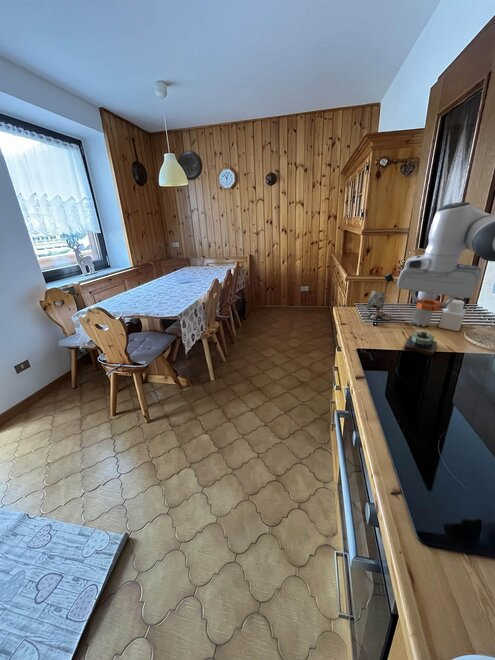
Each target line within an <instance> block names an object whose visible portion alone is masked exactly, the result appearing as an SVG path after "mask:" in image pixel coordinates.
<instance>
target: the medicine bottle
mask: <svg viewBox="0 0 495 660" xmlns="http://www.w3.org/2000/svg"><path fill="white" fill-rule="evenodd" d="M448 300H449V298H448V299H447V301H448ZM466 305H467V300H466V299H465V298H463V297H455V298H454V300H453V301H452V302H451V303H449V304H448V306H447V309H442V312H441V316H440V318H439V324H438V328H440V329H444V330H445V329H446V330H450V331H455V332H460V330H461V326H462V324H463V320H464V317H465V315H466V311H467V310H466Z"/></svg>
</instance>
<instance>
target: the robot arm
mask: <svg viewBox="0 0 495 660" xmlns="http://www.w3.org/2000/svg"><path fill="white" fill-rule="evenodd" d="M464 250H469V251H472V252H473V253H475V254H476V255H477V256H478V257H479V258H481V259H482V260H484V261H487V262H493V263H494V262H495V214H491V213H488V212H486V211H483V210H481V209H479V208H477V207H476V206H474V205H473V204H472V203H471V202H468V201H460V202H452V203H449V204H445V205H443V206H441V207H439V208H438V209H437V211H436V212H435V214H434V216H433V219H432V221H431V225H430V228H429V233H428V244H427V246H426V248H425V250H424V254H419V255H415V256H414V255H413V256H410V257H409V258H408V259H406V261H405V265H404V266H405V267H403V269H402V270H401V271H400V274H399V277H398V279H397V282H396V287H397V288H398V289H400V290H407V291H410V293H409V294H410V296H411V299H412V302H411V304H414V305H417V301H418V300H419V298H418V296H417V295H416V293H417V292H419V291H420V292H427V293H434V294H438V295H441V296H448V299H449V300H448V299H447V300H446V301H442V308H441V309H442V310H444V309H447V306H448V304H449V303H451V302H452V301H453V300H454V298H455V297H457V298H462V299H471V298H472V297H473V296H474V294H475V290H476V285H477V282H478V281H480V279H481V278H482V273H483V270H482V269H481V268H480V267H478V265H473V264H472V265H471V264H470V265H468V264H463V263H462V264H461V263H459V262H460V258H461V254H462V252H463V251H464Z"/></svg>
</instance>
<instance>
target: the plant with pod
mask: <svg viewBox="0 0 495 660" xmlns="http://www.w3.org/2000/svg"><path fill="white" fill-rule="evenodd" d="M384 280H385V283H386V284H385V289H384V292H382V291H378V290H372V291H371V292H370V295H369V298H368V301H367V305H368V306H367V307H366V309H365V310H364V311H363V312H364V313H366V312H367V311H368V310H369V309H370V308H373V309H375V310H376V312H372V313H370V314H369V315H370V316H369V318H370V320H377V321H381V320H388V321H390V320H391V318H392V316H391V314H389V313H386V312H385V311H383V309H384V308H383V307H384V303H385V301H386V299H387V295H386V293H387V287H388V283H390V282H392V283H395V281H394V280H395V279H394V276H393V274H392V273H391V272H389V273H387V274H386V275H384ZM380 310H381V311H380Z"/></svg>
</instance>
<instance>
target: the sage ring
mask: <svg viewBox="0 0 495 660" xmlns="http://www.w3.org/2000/svg"><path fill="white" fill-rule="evenodd" d="M421 332H422V331H415V332H412V334H411V336H412V337H411V339H412V340H413V341H414V342H417V343H419V344H423V345H424V344H425V345H428V344H432V343H433V341H435V336H434V335H433V334H431V333H428V332H426V333H427V336H426V339H423V338H419V337H420V333H421Z"/></svg>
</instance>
